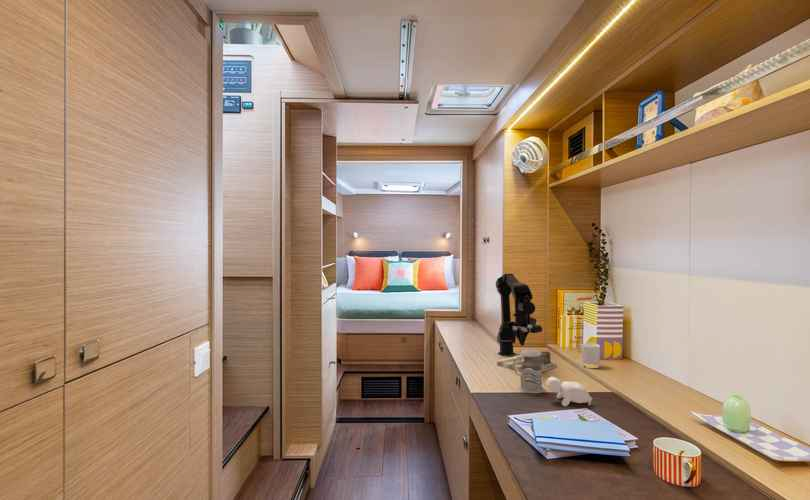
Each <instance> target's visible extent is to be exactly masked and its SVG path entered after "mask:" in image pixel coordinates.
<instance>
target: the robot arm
mask: <svg viewBox="0 0 810 500" xmlns="http://www.w3.org/2000/svg"><path fill="white" fill-rule="evenodd" d="M495 288H496V291H497V293H498V295H499V296H500V312H501V314H500V315H501V324H500V326H499V328H498V333H497V336H496V342H497V343H498V344H499V352H497V354H498V355H502V356H506V357H508V356H512V355H516V353H515V352H514V344H515V343H516V341H517V340H518V342H519V344H520V346H524V345H525V343H526V340H527V337H528V335H529V334H536V333H537V334H538V333H541V332H543V327H542V326H541V325H540V324H539V325H538V324H537V319H536V318H534V317H532V316H531V315H533V314H534V313H535V311H536V306H535V304H534V303H533V302H531V301H533V293H532V290H531V289H530V287H529V285H528V284H526V283H523V282H521V281H519V280H518V278H516V276H515V275H514V273H503V274H502V275H501V276H500V277H498V278H497V279H496V281H495ZM510 295H512V297H513V301H514V313H512V316H511V299H510ZM512 317H514V321H512ZM528 325H532V328H527V326H528ZM516 339H517V340H516Z"/></svg>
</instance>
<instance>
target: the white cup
mask: <svg viewBox="0 0 810 500" xmlns="http://www.w3.org/2000/svg"><path fill="white" fill-rule="evenodd" d="M580 347H581V348H580V349H581V358H582V363H583V362H584V363H586V364H593V365H598V364H599V365H600V358H601V345H600V344H598V343H594V342H585V343H581V344H580Z"/></svg>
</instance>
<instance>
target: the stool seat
mask: <svg viewBox="0 0 810 500" xmlns="http://www.w3.org/2000/svg"><path fill="white" fill-rule="evenodd" d="M517 357H518V358H519V357H521V361H520V358H519V359H518V358H517ZM524 357H525V356H522V355H521V354H519V355H514V356H512V357H511V356H510V357H506V358H503V359H499V360H496V366H499V367H503V368H506V369H510V370H512V371H514V369H515V371H516V372H520V373H521V367H522V366H523V365H522V363H523V362H524ZM516 358H517V360H516V362H515V364H514V368H513V363H514V360H515V359H516ZM531 362H537V363H539V364H541V365H540V366H539V367H541V368H542V373H543V372H546V371H550V370H552V369H556V368H557V367H558V366H557V362H553V361H550V362H546V363H544V357H537V358H533V359H531ZM527 369H528V370H532V371H534V370H533V369H531V368H525V369H524V370H527Z"/></svg>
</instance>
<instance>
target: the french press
mask: <svg viewBox="0 0 810 500" xmlns="http://www.w3.org/2000/svg"><path fill="white" fill-rule="evenodd" d="M527 328H532V325H528V326H527ZM529 344H530V345H529V346H530V347H529V349H525V350H524V349H523V350H521V352H519V355H522V356H525V357H540V356H541V353H540V351H538V350H535V349H532V347H531V339H529ZM517 358H518V357H517ZM517 358H516V359H515V360H514V363H513V368H514V364H515V362H516V360H517ZM519 358H520V361H521V357H519ZM519 358H518V359H519ZM522 365H523V366H522V367H521V372H520V373H521V374H520V373H518V371H516V370H515V369H514V370H513V371H514V373H515V374H516V375H518V376H519V377H520V386H519V387H518V389H519V390H520V391H521V392H524V393H527V394H542V393H543V392H545V391H546V389H545V388H544V387H543V375H542V373H543V372H542V368H541V367H539V366H540V365H541V364H539V363H537V362H523V363H522ZM525 368H531V369H533V370H534V371H532V370H528V369H527V370H524V369H525Z"/></svg>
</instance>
